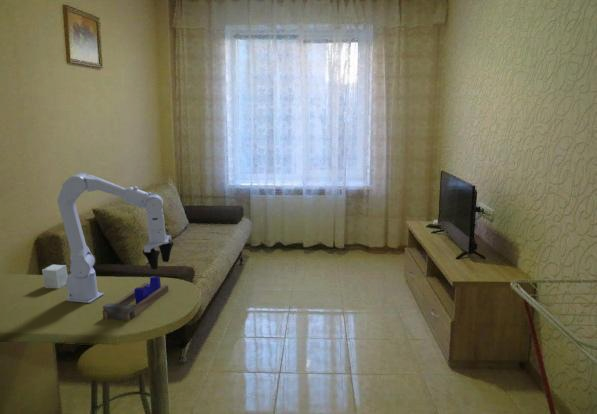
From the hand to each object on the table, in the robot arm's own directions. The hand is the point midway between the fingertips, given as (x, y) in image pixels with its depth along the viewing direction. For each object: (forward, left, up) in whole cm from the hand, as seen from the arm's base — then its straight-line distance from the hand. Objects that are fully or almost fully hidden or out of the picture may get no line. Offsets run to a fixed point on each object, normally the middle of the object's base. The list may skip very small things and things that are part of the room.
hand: (160, 265), depth 168 cm
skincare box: (-43, -4, -10) cm, 44 cm away
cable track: (-2, -13, -10) cm, 16 cm away
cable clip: (-2, -8, -10) cm, 13 cm away
